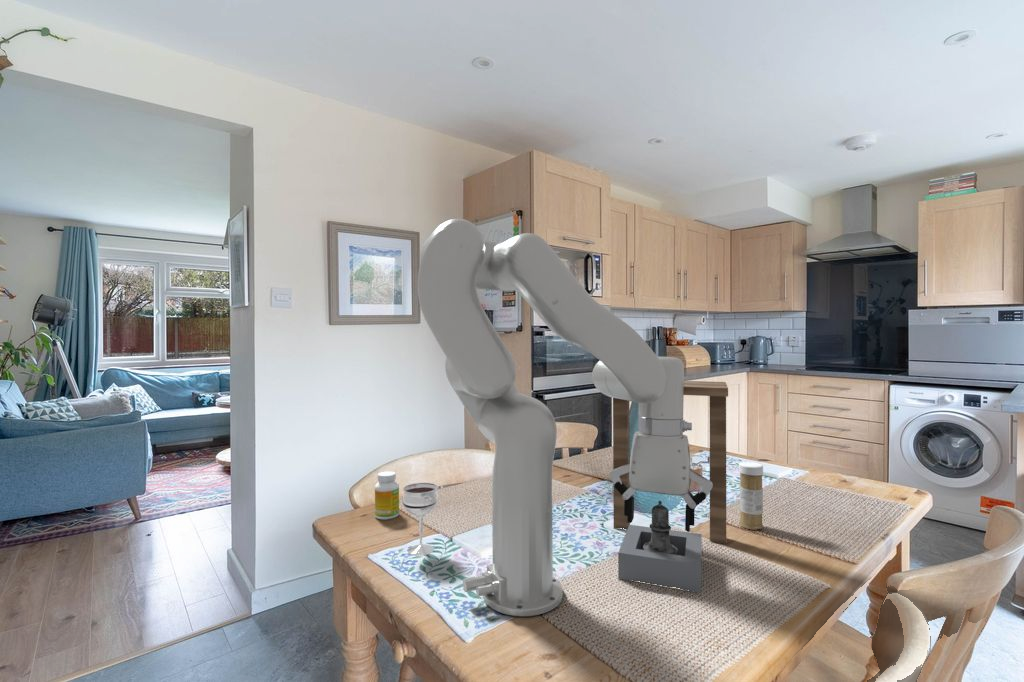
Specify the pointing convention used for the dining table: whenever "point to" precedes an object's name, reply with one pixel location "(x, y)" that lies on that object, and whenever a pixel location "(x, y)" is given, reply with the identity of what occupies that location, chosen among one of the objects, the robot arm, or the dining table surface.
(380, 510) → the supplement bottle
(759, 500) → the sprinkles bottle
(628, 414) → the canopy
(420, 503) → the wineglass
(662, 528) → the salt shaker
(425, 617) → the dining table surface
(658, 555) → the socket block
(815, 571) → the dining table surface
